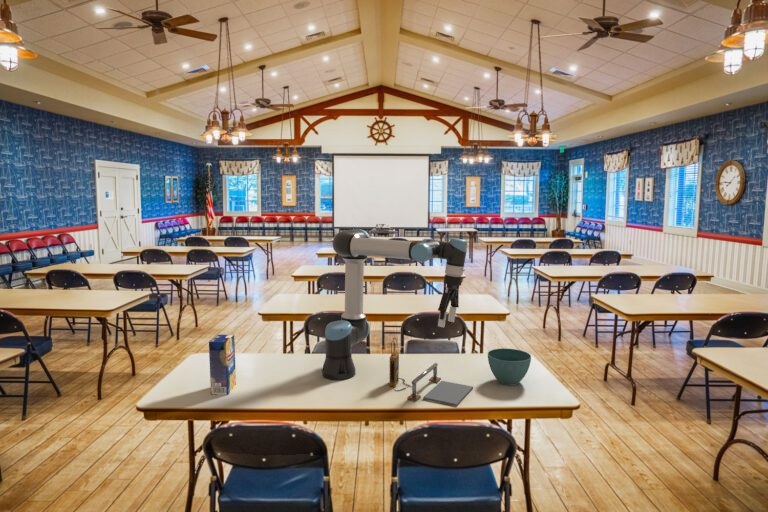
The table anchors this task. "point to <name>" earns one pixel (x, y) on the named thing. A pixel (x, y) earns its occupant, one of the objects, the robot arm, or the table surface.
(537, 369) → the table surface
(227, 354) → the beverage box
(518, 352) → the teal bowl
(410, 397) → the bent rod hurdle
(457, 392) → the mat
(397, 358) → the multimeter
